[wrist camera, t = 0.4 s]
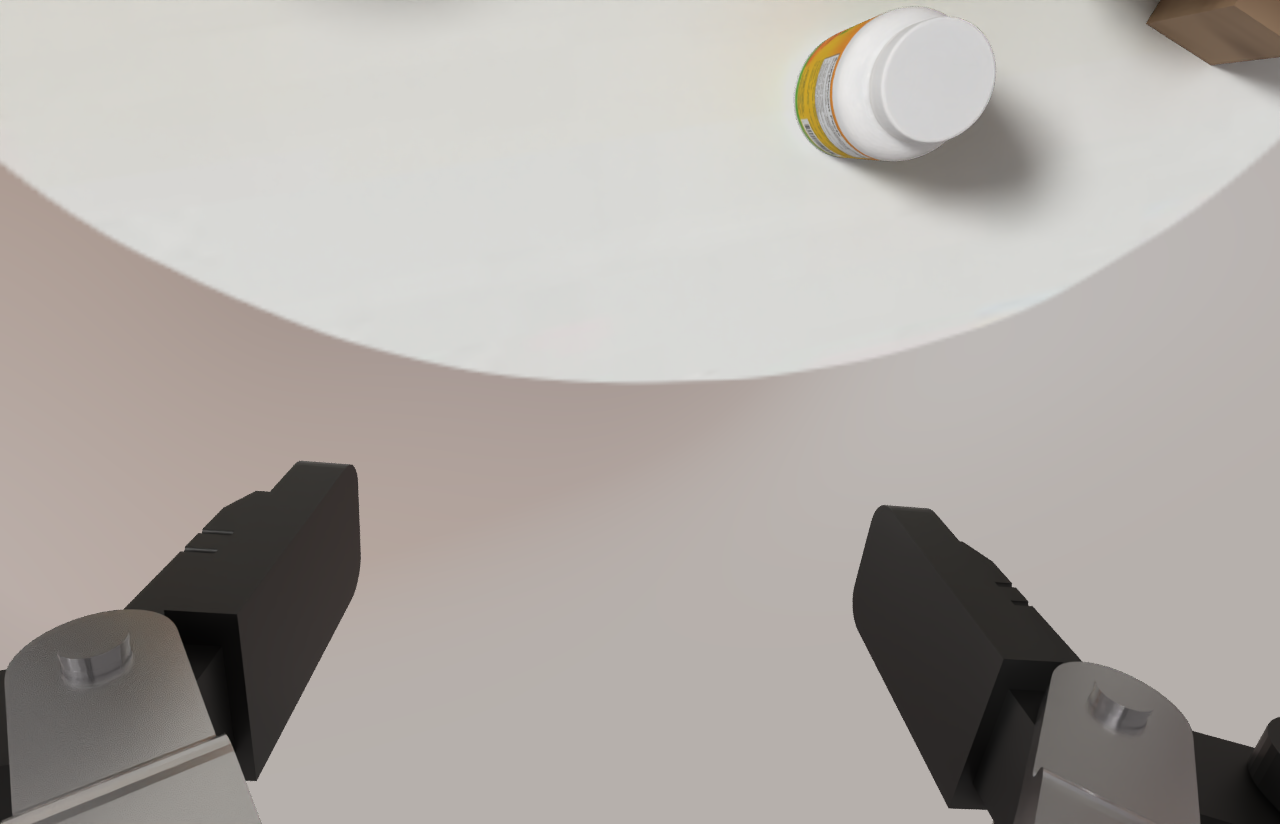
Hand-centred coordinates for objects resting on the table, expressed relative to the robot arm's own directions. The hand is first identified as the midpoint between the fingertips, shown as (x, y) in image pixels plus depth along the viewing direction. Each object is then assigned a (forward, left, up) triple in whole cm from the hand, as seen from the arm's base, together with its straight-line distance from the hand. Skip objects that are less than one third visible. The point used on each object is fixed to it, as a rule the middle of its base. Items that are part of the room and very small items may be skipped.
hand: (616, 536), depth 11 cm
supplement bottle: (-9, +11, -27) cm, 30 cm away
